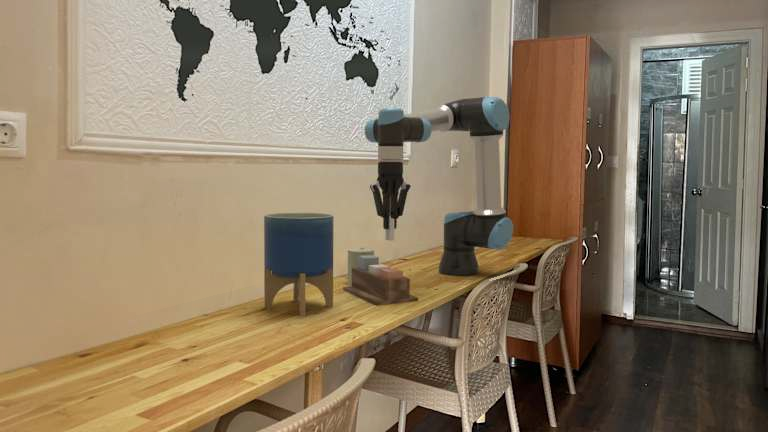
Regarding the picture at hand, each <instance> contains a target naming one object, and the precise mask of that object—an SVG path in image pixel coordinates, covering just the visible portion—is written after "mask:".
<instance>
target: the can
mask: <svg viewBox="0 0 768 432" xmlns="http://www.w3.org/2000/svg"><path fill="white" fill-rule="evenodd" d="M366 255H373V256H375V249H374V248H368V247H354V248H348V249H347V282H346V283H347V284H348V285H350V286H352V268H357V267H358V256H366Z"/></svg>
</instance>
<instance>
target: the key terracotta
mask: <svg viewBox="0 0 768 432" xmlns="http://www.w3.org/2000/svg"><path fill="white" fill-rule="evenodd" d="M380 277H381V278H383V279H386V280H392V279H403V277H404V270H402V269H399V268H395V267H394V268H391V267H390V269H380Z"/></svg>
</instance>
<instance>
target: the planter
mask: <svg viewBox="0 0 768 432" xmlns="http://www.w3.org/2000/svg"><path fill="white" fill-rule="evenodd" d="M263 238H264V239H263V241H264V243H263V245H264V247H263V248H264V251H263V252H264V253H263V257H264V263H263V265H264V266H263V267H264V268H263V269H264V270H263V272H264V273H263V274H264V275H263V279H264V280H263V283H264V285H263V287H264V289H263V291H264V293H263V294H264V301H263V302H264V303H263V304H264V306H263V307H264V310H272V309H273V307H272V306H273V302H274V299H275V298H276V296H277V294H278V293H279V292H280V291H281V290H282V289H283V288H285V287H286V286H288V285H291V284H292V285H293V286H292V287H293V288H292V289H293V292H292V294H293V302H298V303H299V304H298V305H299V308H298V309H299V316H300V317H302V316H303V317H304V316H306V284H310V285H312V286H314V287H316V288H317V289H318V290H319V291H320V292H321V294H322V295H323V297H324V301H325V306H326V307H327V308H328V307H330V308H331V307H334V214H332V213H325V212H310V211H307V212H300V211H292V212H291V211H290V212H273V213H267V214H266V213H265V214H264V215H263Z"/></svg>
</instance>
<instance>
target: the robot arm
mask: <svg viewBox="0 0 768 432" xmlns="http://www.w3.org/2000/svg"><path fill="white" fill-rule="evenodd" d="M510 119H511V118H510V111H509V107H508V105H507V103H506V102H505V100H503V98H501V97H498V96H485V97H484V96H483V97H474V98H472V97H471V98H462V99H461V98H460V99H459V100H458V99H457V100H453V101H450V102H447V103H443V104H438V105H437V106H435V107H434V108H433V109H428V110H427V109H426V110H423V111H416V112H411V113H405V112H404V109H402V108H398V107H396V108H395V107H385V108H381V109H379V111H378V117H377V118H375V119H370V120H368V121H367V122H366V124H365V125H364V136H365V138H366V139H367V141H369V142H371V143H377V145H378V146H377V159H378V160H379V161H378V163H377V179H376V182H375V183H373V184H370V185H369V188H370V191H372V195H373V201H374V205H375V211H376V213H377V216H378V217H380V218H382V219H383V220H382V223H383V227H382V228H383V229H384V230H385V241H391V242H392V241H395V230H396V229H397V223H398V221H397V219H399V217H402V216H403V214H404V210H405V205H406V202H407V197H408V192H409V190H410V189H411V185H410V184H407V183H406V182H405V179H404V177H403V174H404V163H403V160H404V143H425V142H426V141H428V140H430V137H431V135H432V132H437V131H439V132H442V133H443V132H452V131H453V132H457V131H458V132H469V138H471V140H473V141H474V156H475V157H474V159H475V180H476V181H475V183H476V185H475V186H476V209H475V210H471V211H458V212H449V213H446V214H445V216H444V220H443V253H442V255H441V258H440V261H439V263H438V272H439V273H440V274H444V275H449V276H473V275H478V274H479V270H480V269H479V263H478V261H477V256H476V254H475V248H483V249H489V250H502V249H505V248H506V247H507V246H508V245H509V244H510V241H511V240H512V237H513V234H514V224H513V222H512V219H511V218H510V217H507V211H506V210H505V209H504V208H503V206H502V189H501V186H502V185H501V163H500V161H501V160H500V159H501V157H500V139H501V138H502V137H503V136H504V130H506V129H508V127H509V124H510ZM380 189H381V191H380ZM399 190H400V191H399Z"/></svg>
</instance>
